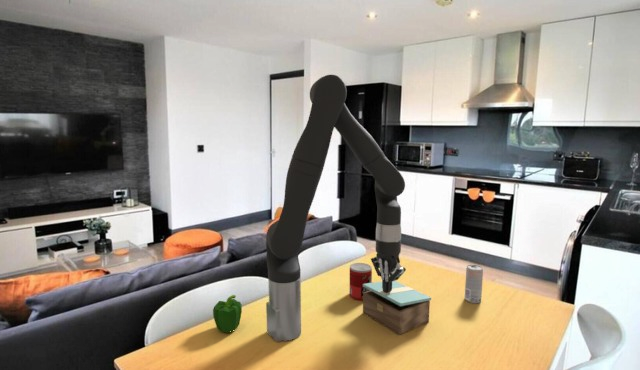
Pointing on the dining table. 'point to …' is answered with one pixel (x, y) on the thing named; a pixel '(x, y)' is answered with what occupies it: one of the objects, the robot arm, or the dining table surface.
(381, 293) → the lid
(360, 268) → the canned food
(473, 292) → the energy drink
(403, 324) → the box
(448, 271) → the dining table surface
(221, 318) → the bell pepper
